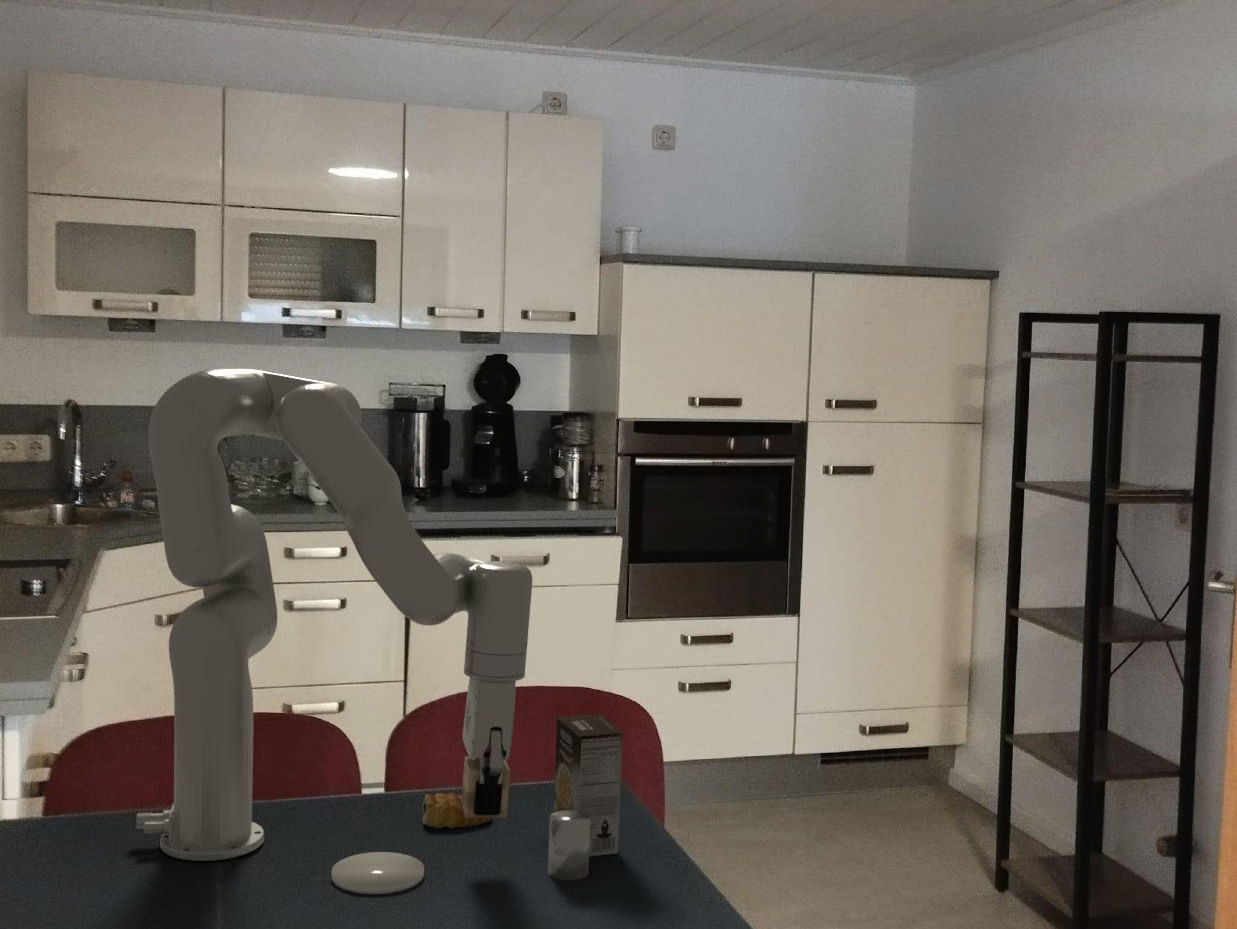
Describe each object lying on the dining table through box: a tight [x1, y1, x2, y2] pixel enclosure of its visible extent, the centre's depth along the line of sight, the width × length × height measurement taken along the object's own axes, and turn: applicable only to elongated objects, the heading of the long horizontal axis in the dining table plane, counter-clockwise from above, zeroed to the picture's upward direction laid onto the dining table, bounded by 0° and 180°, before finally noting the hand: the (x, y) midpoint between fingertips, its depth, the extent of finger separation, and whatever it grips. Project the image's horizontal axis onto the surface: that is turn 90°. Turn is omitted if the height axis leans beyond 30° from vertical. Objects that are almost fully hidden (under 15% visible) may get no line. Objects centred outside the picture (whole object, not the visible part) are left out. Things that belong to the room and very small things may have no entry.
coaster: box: [331, 851, 425, 895], centre depth 162 cm, size 11×11×1 cm
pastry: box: [421, 792, 492, 829], centre depth 181 cm, size 9×7×4 cm
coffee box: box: [553, 713, 624, 858], centre depth 174 cm, size 9×6×16 cm
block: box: [461, 756, 511, 819], centre depth 166 cm, size 5×5×6 cm
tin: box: [547, 810, 591, 881], centre depth 165 cm, size 5×5×7 cm
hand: (483, 804), depth 166 cm, fingers closed on block, 5 cm apart
